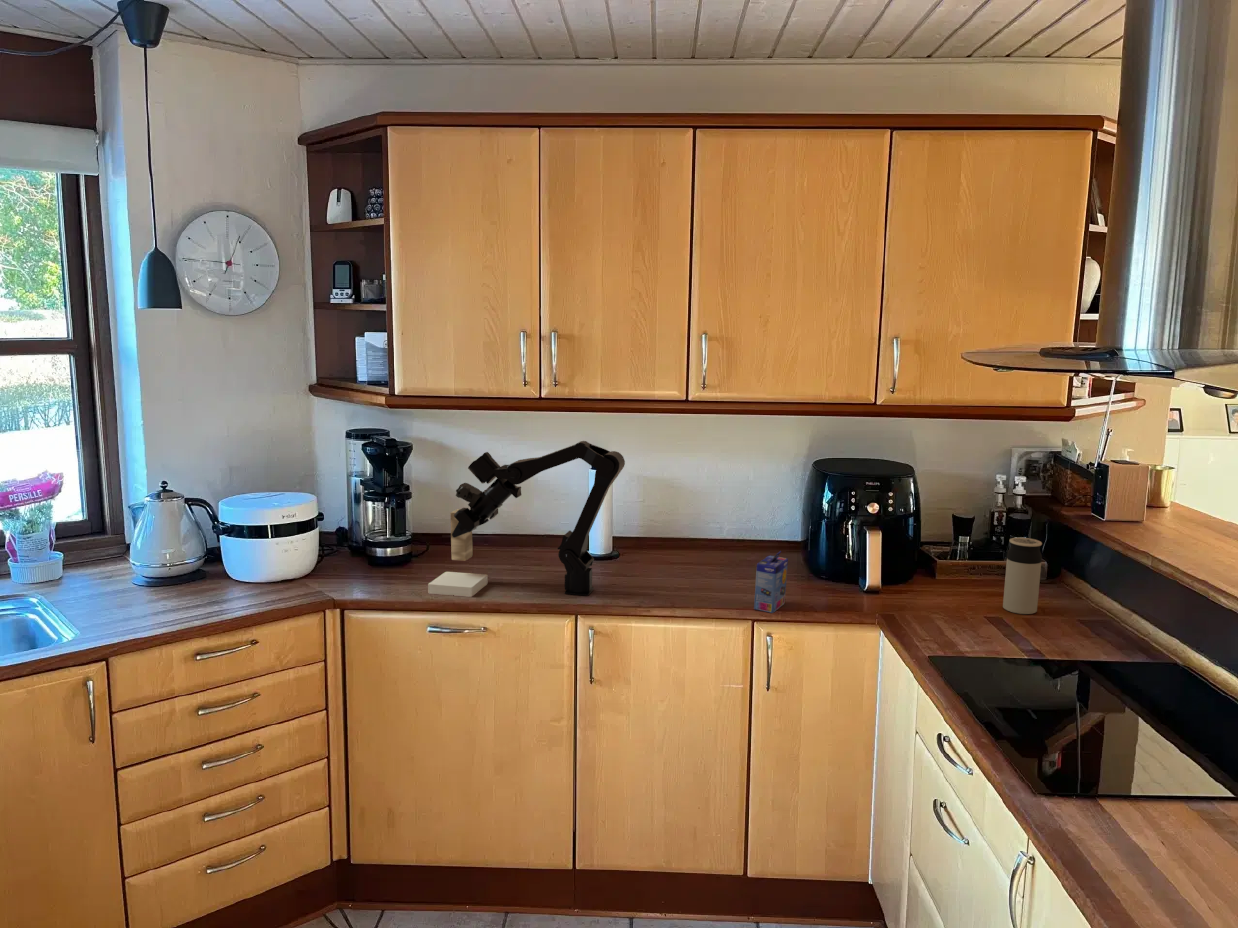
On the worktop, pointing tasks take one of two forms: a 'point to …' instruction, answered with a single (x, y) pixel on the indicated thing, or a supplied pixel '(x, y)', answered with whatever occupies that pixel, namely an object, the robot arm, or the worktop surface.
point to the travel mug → (1022, 576)
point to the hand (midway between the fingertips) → (456, 533)
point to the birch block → (460, 542)
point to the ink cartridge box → (770, 583)
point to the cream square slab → (458, 584)
